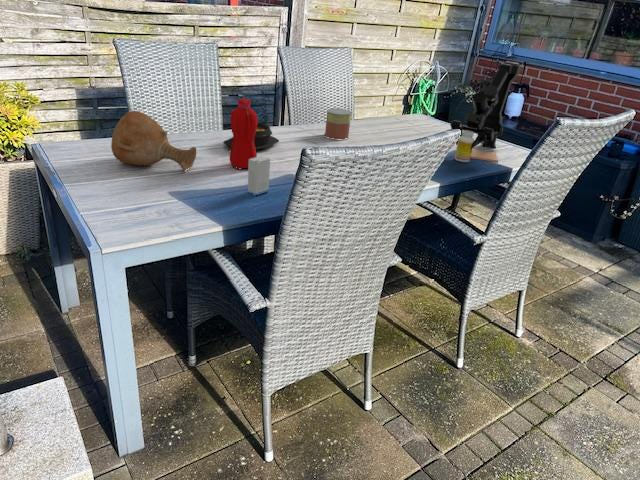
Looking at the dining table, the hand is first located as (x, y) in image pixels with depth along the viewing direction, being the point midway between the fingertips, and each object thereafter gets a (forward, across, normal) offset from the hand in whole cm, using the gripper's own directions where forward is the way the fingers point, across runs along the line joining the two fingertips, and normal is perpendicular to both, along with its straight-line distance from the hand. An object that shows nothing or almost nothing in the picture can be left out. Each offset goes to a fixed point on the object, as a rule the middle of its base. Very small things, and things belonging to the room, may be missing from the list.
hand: (463, 146), depth 216 cm
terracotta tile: (-6, +5, +16) cm, 17 cm away
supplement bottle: (+4, 0, +6) cm, 7 cm away
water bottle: (+60, -55, -50) cm, 96 cm away
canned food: (+15, -56, -6) cm, 59 cm away
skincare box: (+70, -35, -61) cm, 99 cm away
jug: (+78, -76, -68) cm, 128 cm away
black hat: (+45, -72, -35) cm, 92 cm away
